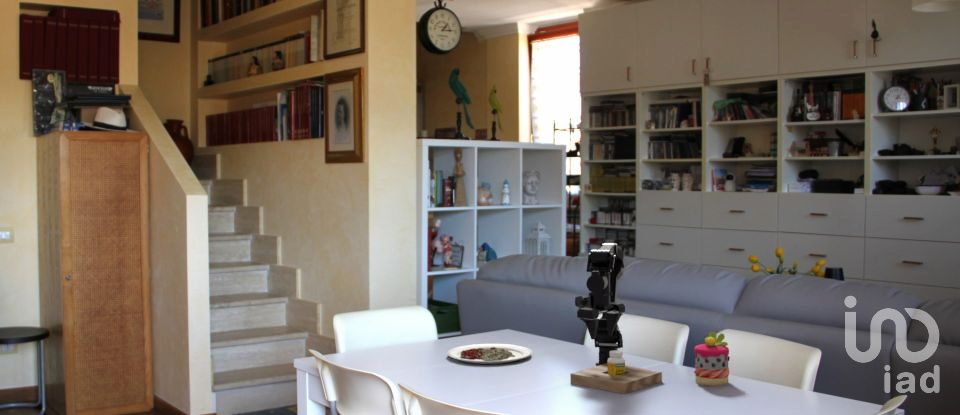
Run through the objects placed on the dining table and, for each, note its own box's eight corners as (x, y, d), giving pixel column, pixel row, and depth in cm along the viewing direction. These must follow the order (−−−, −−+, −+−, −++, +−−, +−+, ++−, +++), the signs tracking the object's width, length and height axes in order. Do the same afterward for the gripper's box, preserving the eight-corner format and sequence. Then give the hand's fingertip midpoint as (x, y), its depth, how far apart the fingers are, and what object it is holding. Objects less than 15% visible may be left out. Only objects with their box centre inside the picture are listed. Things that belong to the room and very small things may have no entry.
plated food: (549, 358, 306) (549, 349, 306) (478, 370, 289) (478, 360, 289) (499, 345, 330) (499, 336, 330) (431, 355, 314) (431, 346, 314)
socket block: (609, 371, 283) (608, 362, 283) (661, 381, 269) (661, 371, 269) (570, 383, 269) (570, 373, 269) (624, 393, 255) (624, 383, 255)
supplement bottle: (617, 379, 273) (616, 349, 272) (628, 382, 268) (628, 351, 268) (604, 381, 270) (603, 351, 269) (615, 385, 265) (615, 354, 265)
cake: (728, 387, 261) (728, 337, 260) (692, 385, 264) (691, 336, 264) (730, 379, 270) (730, 331, 270) (696, 377, 274) (695, 330, 273)
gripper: (598, 283, 291) (598, 330, 292) (563, 289, 278) (563, 338, 279) (625, 286, 284) (626, 334, 284) (591, 292, 270) (591, 342, 271)
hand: (601, 337), depth 280 cm, fingers open, 9 cm apart
